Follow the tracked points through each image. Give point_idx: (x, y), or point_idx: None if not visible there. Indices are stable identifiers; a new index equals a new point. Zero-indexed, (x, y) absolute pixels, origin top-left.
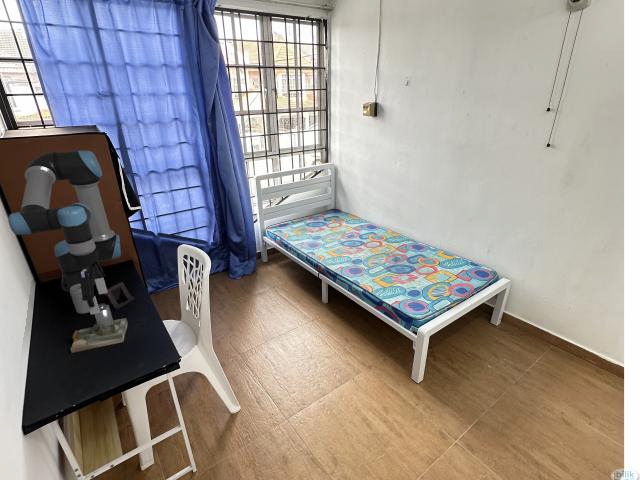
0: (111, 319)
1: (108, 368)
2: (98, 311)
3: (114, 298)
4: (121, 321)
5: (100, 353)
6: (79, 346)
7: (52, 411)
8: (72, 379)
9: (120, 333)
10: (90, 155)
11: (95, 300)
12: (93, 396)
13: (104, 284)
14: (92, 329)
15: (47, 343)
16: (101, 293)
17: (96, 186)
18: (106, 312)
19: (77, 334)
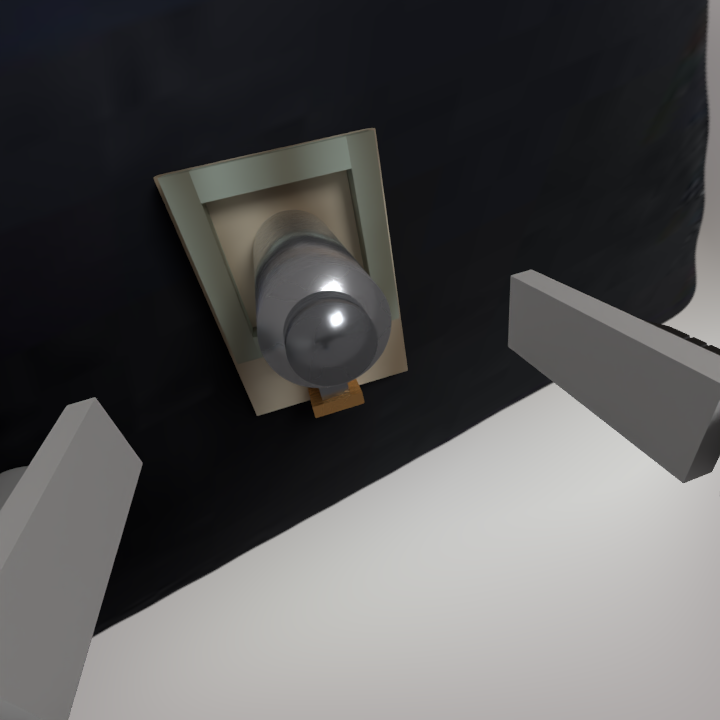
0: (311, 231)
1: (567, 128)
2: (544, 280)
3: None
4: (206, 198)
5: (439, 226)
6: (394, 344)
7: (689, 254)
8: (567, 268)
9: (359, 143)
10: None
11: (691, 343)
12: (707, 126)
13: (34, 513)
14: None
15: (320, 476)
16: (127, 450)
17: None
18: (356, 264)
19: (340, 393)
